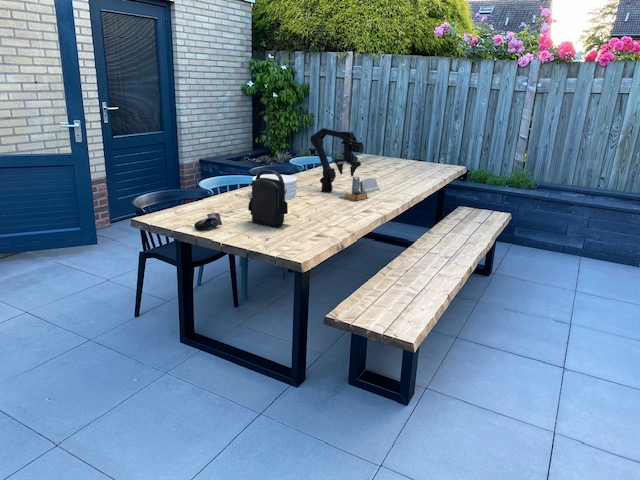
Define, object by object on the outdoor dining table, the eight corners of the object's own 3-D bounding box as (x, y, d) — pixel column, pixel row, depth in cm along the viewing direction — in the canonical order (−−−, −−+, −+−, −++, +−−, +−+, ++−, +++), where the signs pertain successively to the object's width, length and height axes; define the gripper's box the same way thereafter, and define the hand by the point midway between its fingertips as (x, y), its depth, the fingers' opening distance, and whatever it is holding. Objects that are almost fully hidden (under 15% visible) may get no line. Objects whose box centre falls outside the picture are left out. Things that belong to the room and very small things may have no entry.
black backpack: (292, 225, 248) (293, 171, 239) (282, 229, 240) (283, 174, 232) (257, 218, 258) (256, 166, 250) (246, 222, 251) (245, 168, 242)
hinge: (365, 193, 324) (362, 179, 323) (360, 194, 327) (357, 180, 326) (380, 190, 336) (377, 176, 335) (375, 191, 339) (372, 177, 338)
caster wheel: (194, 235, 236) (203, 226, 244) (214, 233, 232) (223, 224, 241) (189, 222, 233) (199, 214, 242) (210, 220, 230) (219, 212, 238)
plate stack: (289, 202, 294) (290, 184, 290) (246, 199, 299) (245, 180, 295) (301, 193, 320) (301, 176, 316) (260, 189, 325) (260, 173, 321)
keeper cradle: (338, 197, 310) (339, 192, 309) (352, 194, 319) (353, 189, 318) (354, 201, 301) (354, 196, 300) (368, 198, 311) (368, 193, 310)
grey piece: (349, 197, 309) (350, 177, 305) (354, 196, 313) (355, 176, 309) (355, 198, 306) (356, 178, 302) (360, 197, 309) (361, 177, 305)
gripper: (367, 152, 308) (365, 176, 313) (345, 148, 320) (344, 172, 325) (355, 153, 301) (354, 178, 305) (333, 150, 313) (332, 173, 318)
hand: (346, 175), depth 314 cm, fingers open, 9 cm apart
